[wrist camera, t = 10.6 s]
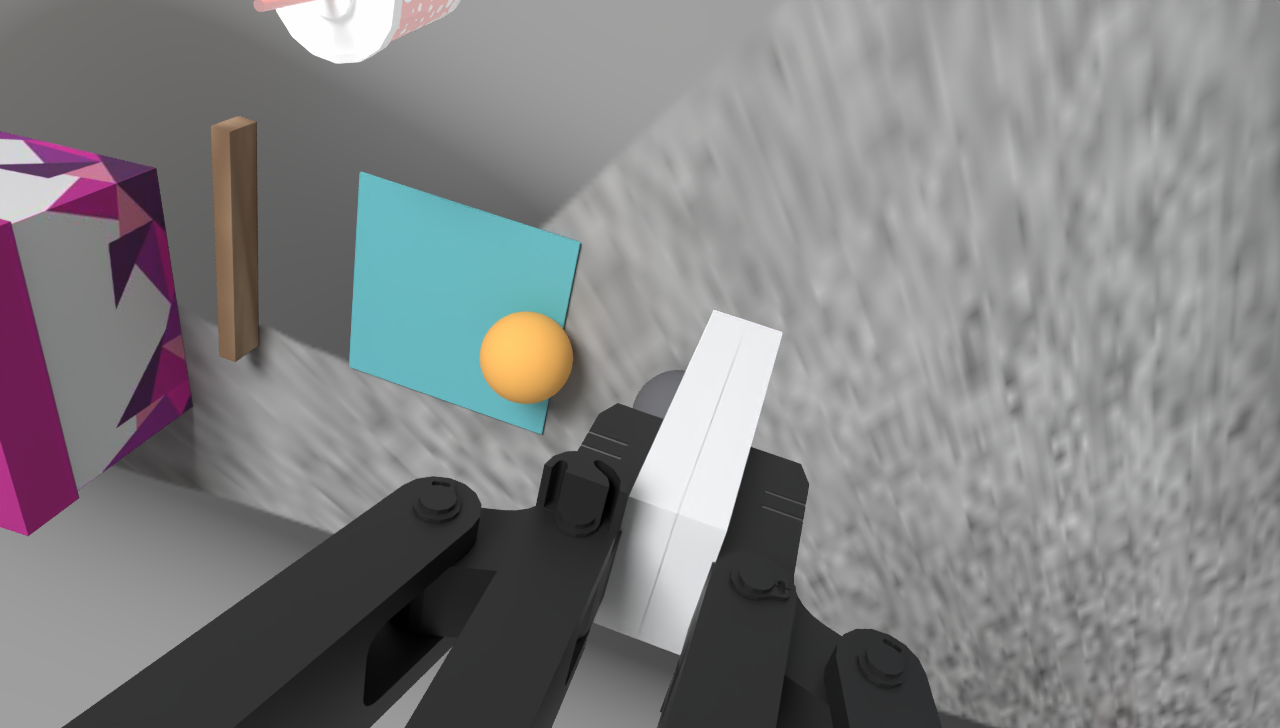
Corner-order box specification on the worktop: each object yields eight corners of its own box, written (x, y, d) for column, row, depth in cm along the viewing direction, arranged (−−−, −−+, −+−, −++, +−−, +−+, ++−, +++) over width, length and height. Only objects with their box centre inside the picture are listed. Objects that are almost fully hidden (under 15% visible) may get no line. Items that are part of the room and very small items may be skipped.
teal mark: (580, 242, 51) (579, 243, 51) (542, 432, 59) (541, 434, 58) (361, 171, 53) (359, 172, 53) (350, 365, 60) (349, 366, 60)
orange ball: (566, 354, 49) (472, 324, 49) (549, 433, 52) (460, 404, 52) (591, 311, 53) (505, 285, 54) (573, 386, 56) (492, 360, 57)
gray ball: (645, 406, 48) (632, 350, 52) (632, 483, 51) (621, 424, 55) (743, 409, 49) (722, 353, 53) (725, 484, 52) (707, 426, 56)
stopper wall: (256, 121, 53) (229, 131, 51) (258, 345, 61) (235, 361, 59) (238, 115, 53) (211, 126, 51) (243, 339, 62) (219, 356, 59)
